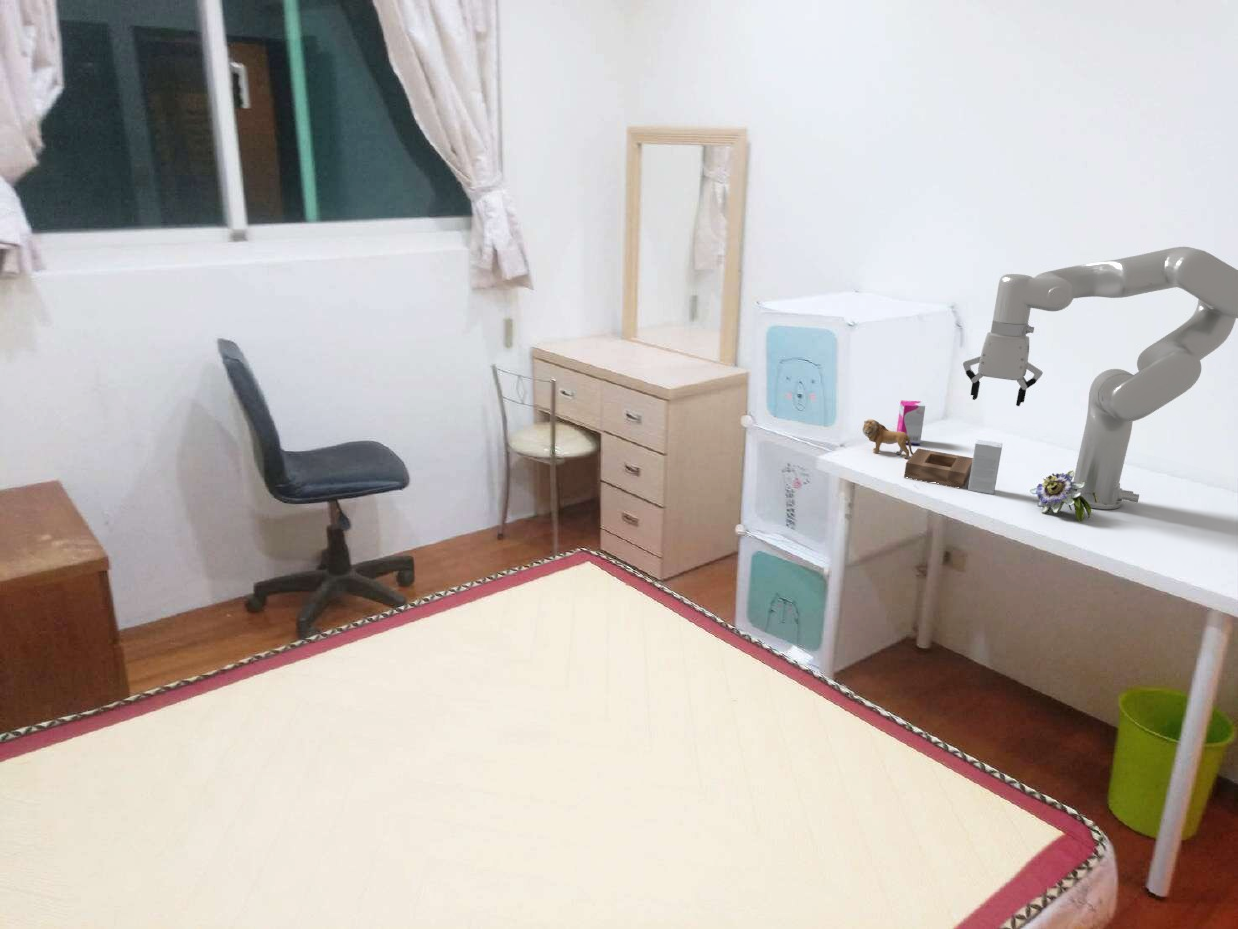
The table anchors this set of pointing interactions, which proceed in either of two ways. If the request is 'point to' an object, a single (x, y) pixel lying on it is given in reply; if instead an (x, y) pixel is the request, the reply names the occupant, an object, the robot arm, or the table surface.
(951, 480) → the holder block
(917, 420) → the supplement box
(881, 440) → the lion figurine
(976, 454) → the skincare box
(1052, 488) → the passion flower
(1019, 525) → the table surface
